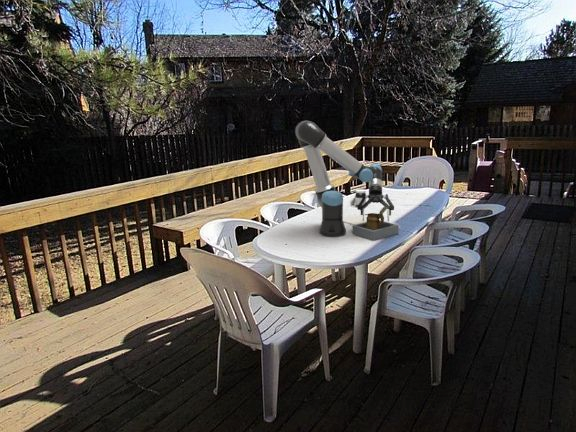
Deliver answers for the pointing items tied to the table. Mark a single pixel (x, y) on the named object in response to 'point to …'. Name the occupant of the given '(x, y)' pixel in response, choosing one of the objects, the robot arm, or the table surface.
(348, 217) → the cream board
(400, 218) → the table surface
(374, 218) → the wooden mug
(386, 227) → the hollow square frame
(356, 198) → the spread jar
